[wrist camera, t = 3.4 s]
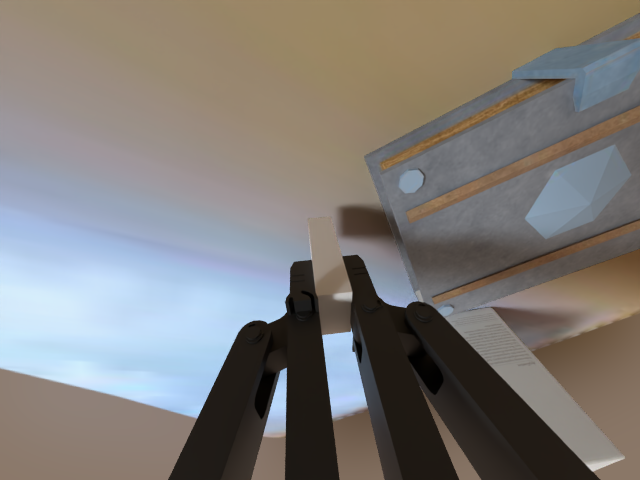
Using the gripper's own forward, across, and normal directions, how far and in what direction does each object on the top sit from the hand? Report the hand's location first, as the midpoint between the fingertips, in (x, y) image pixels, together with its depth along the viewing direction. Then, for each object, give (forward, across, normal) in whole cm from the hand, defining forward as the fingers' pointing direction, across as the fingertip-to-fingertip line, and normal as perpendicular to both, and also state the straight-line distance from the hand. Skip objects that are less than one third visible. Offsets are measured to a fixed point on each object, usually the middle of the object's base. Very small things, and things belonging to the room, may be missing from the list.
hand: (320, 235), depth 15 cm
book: (+3, +16, +1) cm, 16 cm away
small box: (+3, +16, -18) cm, 24 cm away
